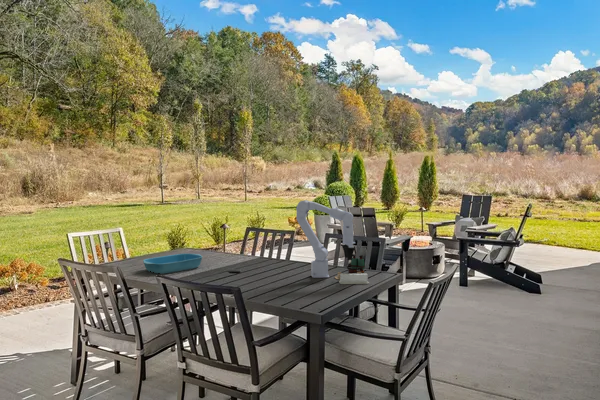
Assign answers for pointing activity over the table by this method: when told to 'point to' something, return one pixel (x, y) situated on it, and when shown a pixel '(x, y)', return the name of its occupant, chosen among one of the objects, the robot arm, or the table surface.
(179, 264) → the casserole dish
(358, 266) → the binoculars
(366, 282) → the mat
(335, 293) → the table surface
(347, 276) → the rail
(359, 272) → the rack
